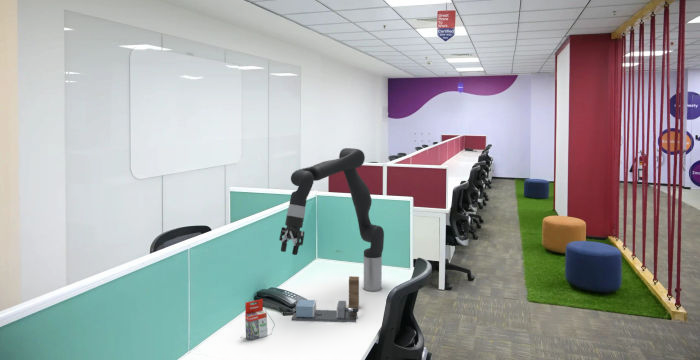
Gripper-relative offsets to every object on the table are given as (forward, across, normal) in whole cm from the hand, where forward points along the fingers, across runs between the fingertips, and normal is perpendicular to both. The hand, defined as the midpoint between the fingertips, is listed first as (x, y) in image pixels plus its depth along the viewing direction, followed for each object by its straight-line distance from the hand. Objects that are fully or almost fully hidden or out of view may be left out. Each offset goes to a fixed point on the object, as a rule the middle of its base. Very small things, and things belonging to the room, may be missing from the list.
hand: (288, 253), depth 215 cm
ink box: (+34, -5, +12) cm, 36 cm away
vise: (+25, -7, -20) cm, 33 cm away
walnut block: (+21, -7, -37) cm, 43 cm away
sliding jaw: (+25, -1, -15) cm, 29 cm away
